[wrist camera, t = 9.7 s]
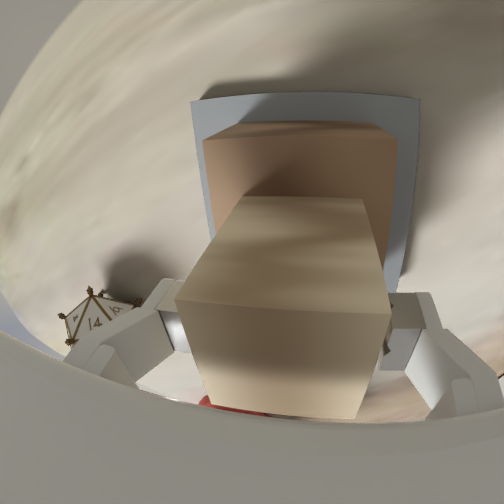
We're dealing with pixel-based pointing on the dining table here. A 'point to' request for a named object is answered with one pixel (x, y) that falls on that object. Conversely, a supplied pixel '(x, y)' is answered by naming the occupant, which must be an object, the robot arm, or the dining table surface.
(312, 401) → the oak block
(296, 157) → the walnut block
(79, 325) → the game die
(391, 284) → the base plate
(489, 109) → the dining table surface
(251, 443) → the robot arm
